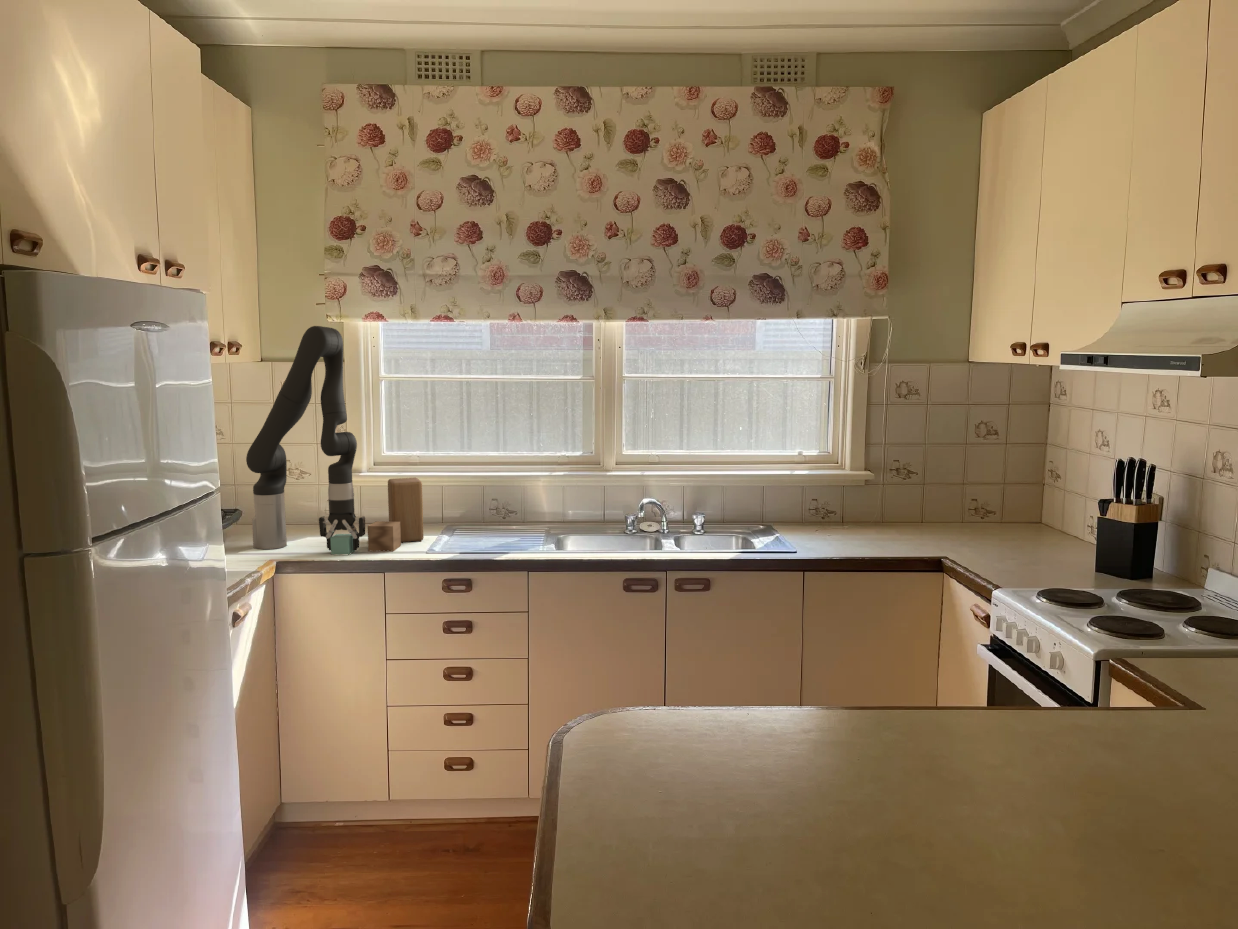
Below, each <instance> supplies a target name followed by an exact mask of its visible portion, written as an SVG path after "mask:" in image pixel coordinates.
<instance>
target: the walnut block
mask: <svg viewBox="0 0 1238 929" xmlns="http://www.w3.org/2000/svg"><path fill="white" fill-rule="evenodd" d="M367 543H368V544H367V545H368V546H367V551H368V552H395V551H396V550H398V549H399V548H400V547H401V546H402V542H401V532H400V522H389V521H380V520H379V521H378V520H377V521H374V522H373V523H371V524H369V525H367Z"/></svg>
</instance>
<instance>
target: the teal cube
mask: <svg viewBox="0 0 1238 929" xmlns="http://www.w3.org/2000/svg"><path fill="white" fill-rule="evenodd" d="M353 539H354V538H353V536H352V535H351V533H336V534H333V536H332V537H330V540H331V550H330V555H331V554H348V555H347V556H350V555H351V554H353V553H354V552H355V551H354V550H353ZM352 552H353V553H352ZM350 553H351V554H350ZM349 554H350V555H349Z"/></svg>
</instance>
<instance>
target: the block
mask: <svg viewBox="0 0 1238 929" xmlns="http://www.w3.org/2000/svg"><path fill="white" fill-rule="evenodd" d="M387 499H388V500H387V504H388V522H400V532H401V543H411V541H413V542H421V541H423V540H424V537H425V536H424V511H423V510H424V507H423V506H424V504H423V503H424V502H423V482H422V481H421V480H420V479H419V478H417V477H400V478H398V477H397V478H389V479H388V480H387Z"/></svg>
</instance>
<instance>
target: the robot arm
mask: <svg viewBox="0 0 1238 929" xmlns="http://www.w3.org/2000/svg"><path fill="white" fill-rule="evenodd" d="M321 358H322V359H323V364H324V370H325V374H324V380H323V383H322V386H321V392H320V407H321V415H322V427H321V428H322V430H321V437H320V449H321V450H322V451H321V452H323V454H324V455H325V456H327V457H335V456H336V457H338V456H340V457H339V458H338V460H337V461H336V462H333V463H331V464H330V465H328V469H327V471H328V472H327V474H328V476H327V477H328V478H327V479H328V487H327V494H328V495H327V497H328V516H325V515H323V516H320V517H319V518H318V526H319V527H318V528H319V536H320V537H324V538H326V548H327V549H328V550H329V551H331V540H330V537H332V536H334V535H335V532H336V531H341V530H342V531H348V534H351V535H352V536H353V538H354V539H353V550H354V552H356V551H358V549H359V548H360V538H361V537H363V536H365V535H366V517H365V516H364V515H362V516H357V515H356V513H355V491H354V484H353V465H354V462H355V461H354V460H355V457H356V452H357V448H358V443H357V438H356V436H355V435H354V434H353V433H352V432H350V431H342V432H341V431H340V432H336V429H337V427H338V426H340V425H342V424H346V422H347V420H348V415H347V408H346V407H347V406H346V402H345V400H346V399H345V394H344V393H345V392H344V341H343V336H342V334H341V332H340V331H339V330H338V329H337V328H333V327H329V326H322V325H313V326H310V327H308V328H307V329H306V330H305V332H304V333H303V335H302V337H301V340H300V343H299V344H298V348H297V351H296V355H295V357H294V359H293V362H292V365H291V366H290V368H289V370H288V373H287V376H286V378H285V380H284V382H283V384H282V386H281V388H280V389H279V391H278V393H277V396H276V398H275V400H274V403H273V405H272V406H271V410H270V412H269V413H268V414H267V417H266V420H265V422H264V424H263V426H262V428H261V429H260V431H259V432H258V434H257V436H256V437H255V438H254V440H253V441H252V444H251V445H250V446H249V449H247V450H248V451H247V453H246V457H245V458H246V460H245V461H246V465H247V468H248V469H249V470H250V471H251V472H252V473H254V474H259V475H260V476H259V478H258V480H257V481H256V482H255V483H254V485H253V488H252V494H253V510H254V512H253V514H254V517H252V518H251V525H252V544H253V545H252V546H253V549H260V550H272V549H273V550H274V549H281V548H284V547H286V546H288V545H287V543H288V542H287V540H288V538H287V523H286V522H287V521H286V503H285V502H286V500H285V487H286V484H287V467H288V466H287V463H288V462H287V461H288V460H287V455H286V454H287V453H286V451H285V449H284V447H283V446H282V445H281V444H280V443H281V441H282V440H283V438H284V437H285V436H286V435H287V434H288V432H290V430H291V429H293V428H294V426H295V425H296V424H297V423H298V422H299V421H300V420H301V419H302V417H303V415H304V414H305V412H306V410H307V408H308V406H309V403H310V402H311V400H312V394H313V391H312V390H313V386H312V385H313V383H312V377H313V373H314V371H315V368H316V365H317V363H318V362H319V360H320V359H321ZM328 522H329V523H330V525H331V526H330V527H329V529H328V531H327V523H328ZM355 522H356V523H357V525H358V530H357V528H356V526H355V524H354V523H355Z"/></svg>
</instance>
